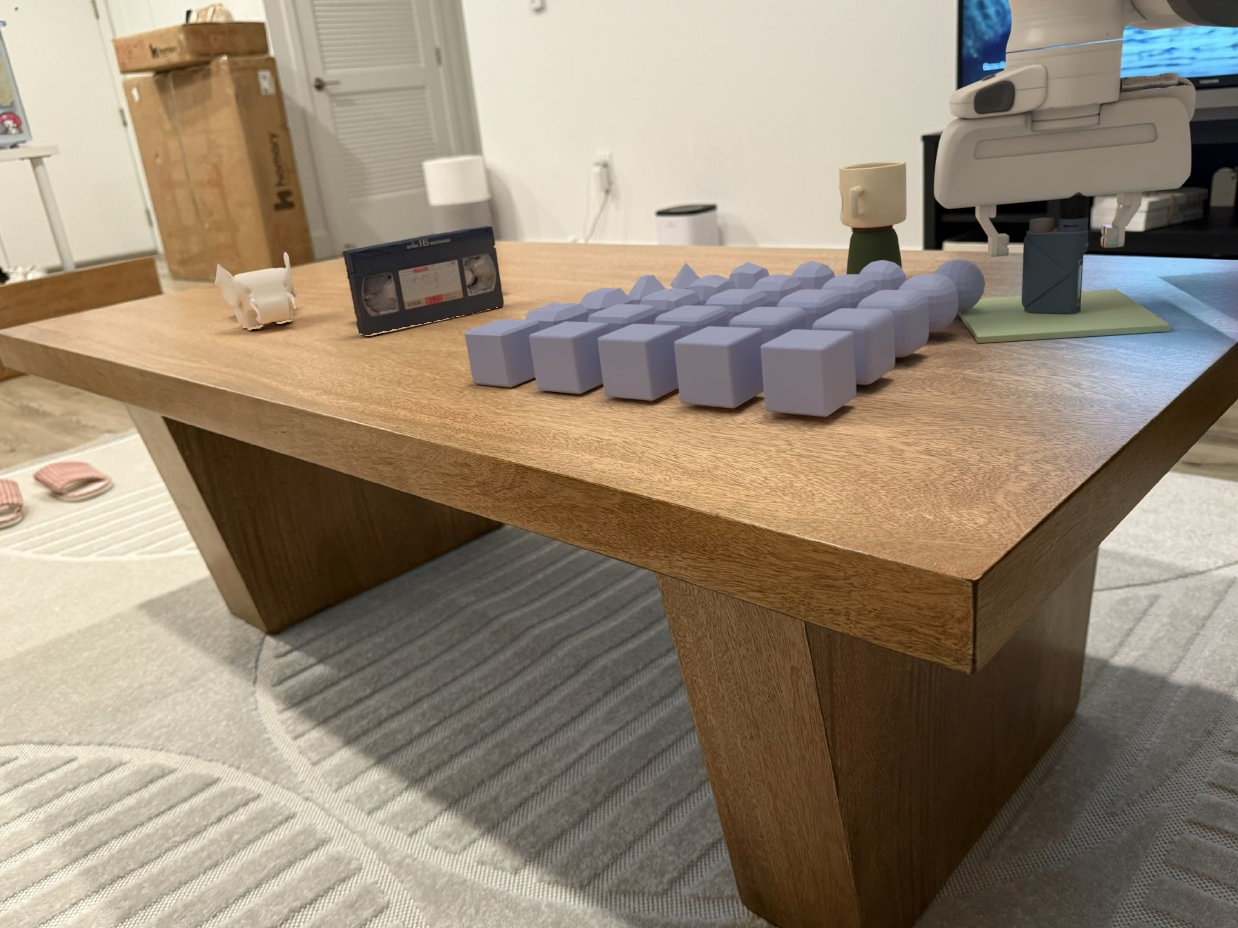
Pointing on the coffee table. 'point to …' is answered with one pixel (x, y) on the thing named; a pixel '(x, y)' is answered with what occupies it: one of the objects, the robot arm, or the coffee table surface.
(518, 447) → the coffee table surface
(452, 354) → the coffee table surface
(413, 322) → the vhs cassette tape
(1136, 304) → the mat
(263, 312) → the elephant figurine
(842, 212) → the character mug
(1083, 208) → the vaping device
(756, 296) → the blocks
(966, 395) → the coffee table surface
